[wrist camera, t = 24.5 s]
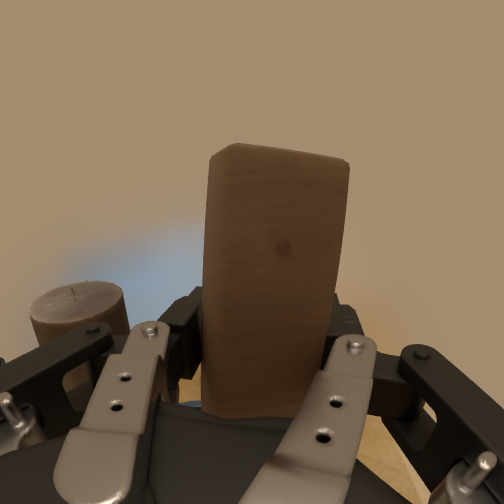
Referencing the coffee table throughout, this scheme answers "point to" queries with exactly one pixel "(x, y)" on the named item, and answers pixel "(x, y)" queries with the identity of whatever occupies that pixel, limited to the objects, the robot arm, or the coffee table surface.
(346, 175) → the wooden block
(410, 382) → the robot arm
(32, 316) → the pillar candle
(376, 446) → the coffee table surface
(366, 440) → the coffee table surface
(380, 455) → the coffee table surface
